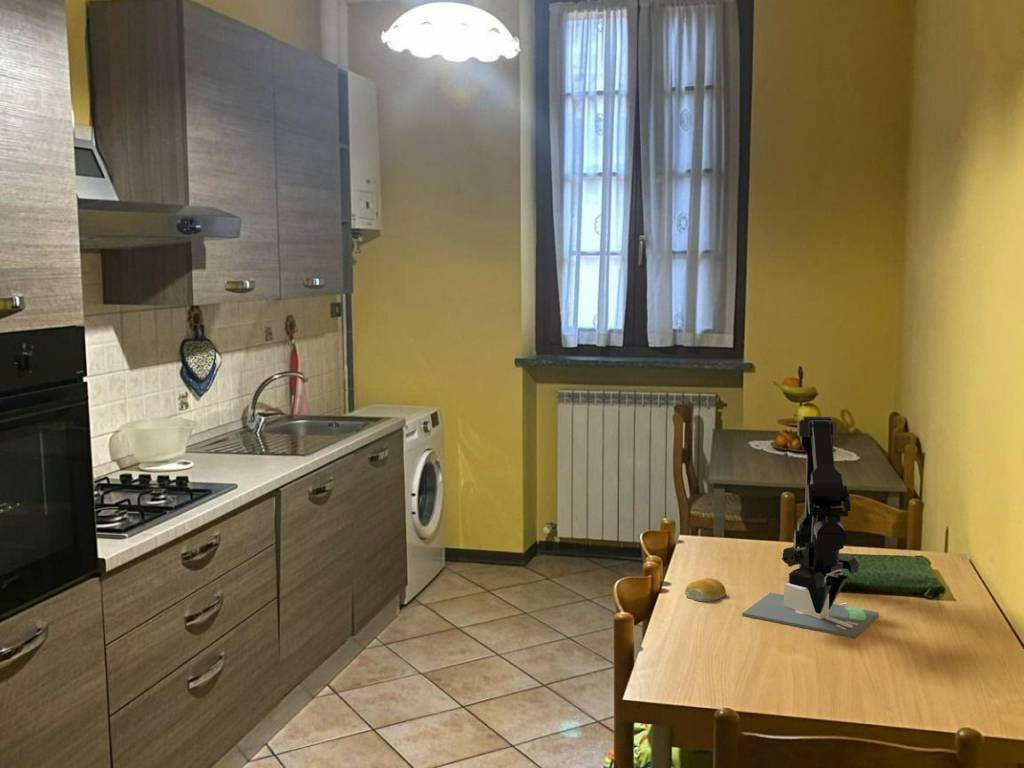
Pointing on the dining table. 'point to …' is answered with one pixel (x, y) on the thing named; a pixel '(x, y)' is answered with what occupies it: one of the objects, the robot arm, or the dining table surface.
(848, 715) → the dining table surface
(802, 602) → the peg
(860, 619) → the grey board
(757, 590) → the dining table surface
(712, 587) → the bread roll
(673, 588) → the dining table surface
